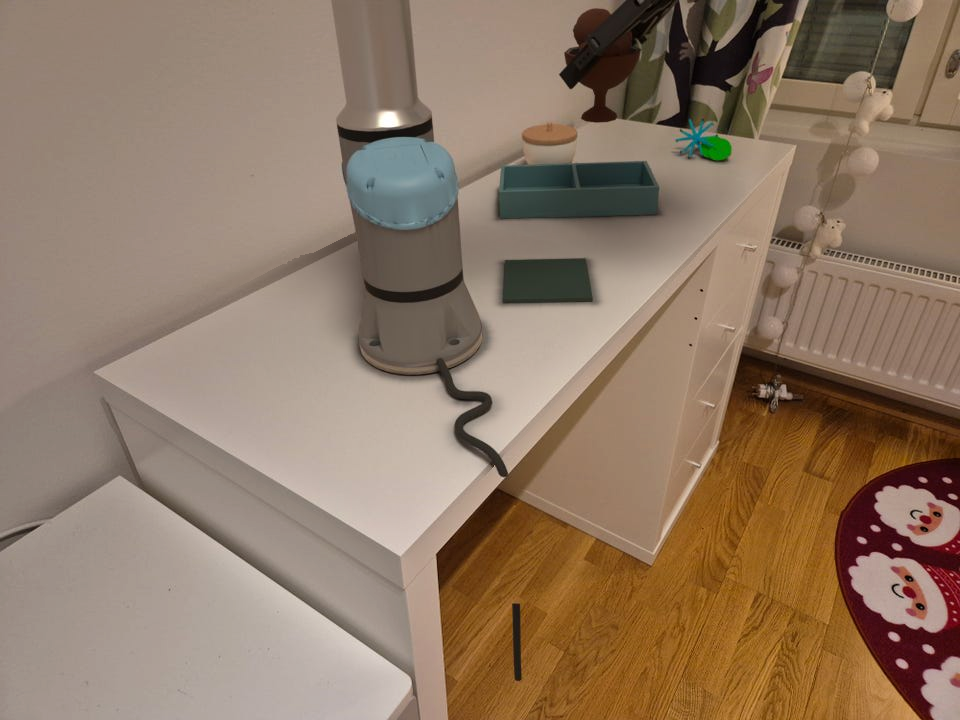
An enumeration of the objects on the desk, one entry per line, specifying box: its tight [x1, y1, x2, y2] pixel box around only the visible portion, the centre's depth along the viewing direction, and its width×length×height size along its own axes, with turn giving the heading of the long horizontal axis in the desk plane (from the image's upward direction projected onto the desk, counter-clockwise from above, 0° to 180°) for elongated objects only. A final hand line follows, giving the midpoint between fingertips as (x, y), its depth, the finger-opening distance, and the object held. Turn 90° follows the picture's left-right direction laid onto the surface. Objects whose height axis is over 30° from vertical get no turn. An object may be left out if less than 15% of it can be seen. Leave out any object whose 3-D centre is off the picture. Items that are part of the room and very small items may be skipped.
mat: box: [502, 257, 594, 304], centre depth 93 cm, size 12×12×1 cm
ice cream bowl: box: [564, 7, 642, 124], centre depth 96 cm, size 11×11×15 cm
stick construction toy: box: [674, 118, 733, 162], centre depth 134 cm, size 12×7×8 cm
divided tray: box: [498, 160, 660, 220], centre depth 116 cm, size 14×26×5 cm, turn 87°
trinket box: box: [521, 122, 578, 165], centre depth 129 cm, size 11×11×9 cm
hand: (583, 73), depth 99 cm, fingers closed on ice cream bowl, 11 cm apart
